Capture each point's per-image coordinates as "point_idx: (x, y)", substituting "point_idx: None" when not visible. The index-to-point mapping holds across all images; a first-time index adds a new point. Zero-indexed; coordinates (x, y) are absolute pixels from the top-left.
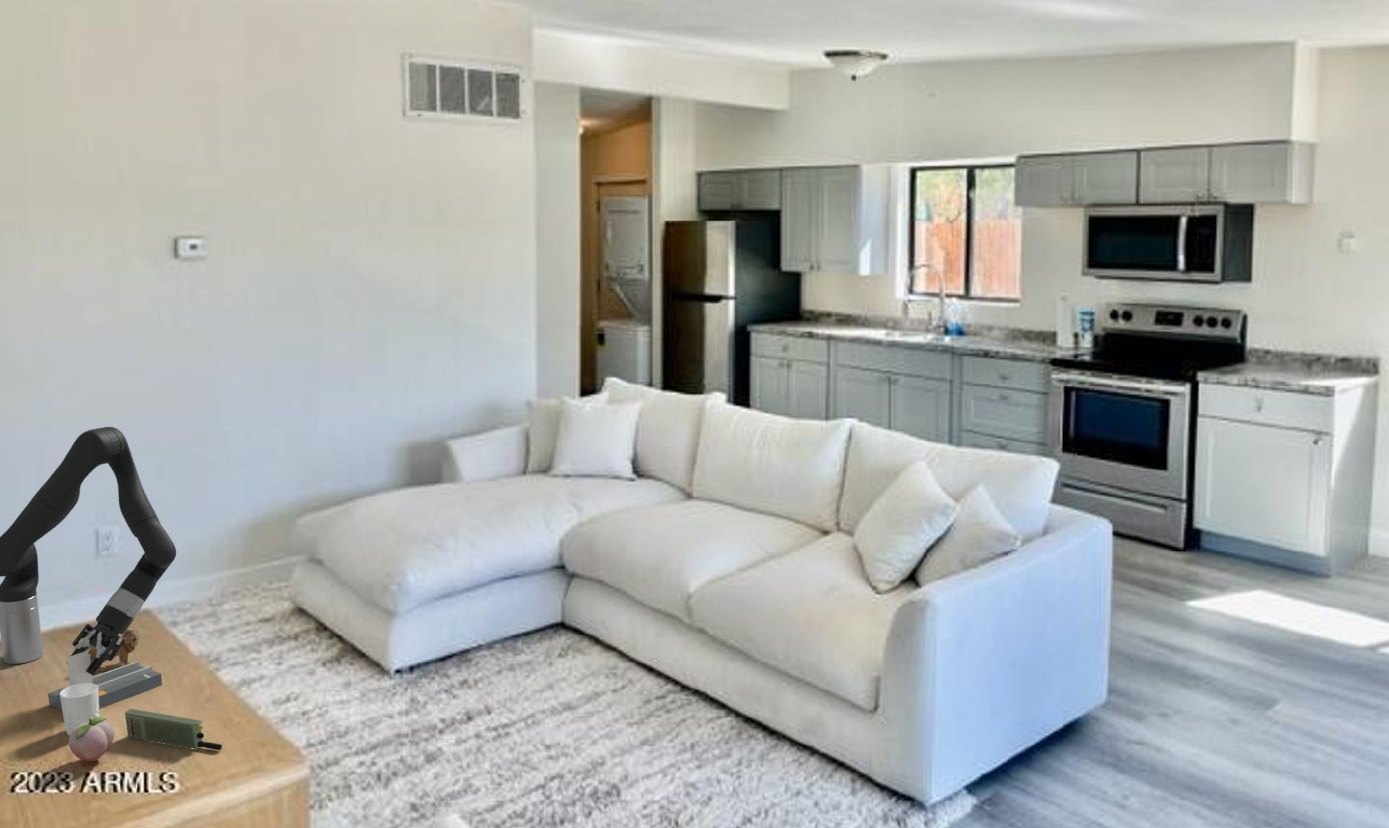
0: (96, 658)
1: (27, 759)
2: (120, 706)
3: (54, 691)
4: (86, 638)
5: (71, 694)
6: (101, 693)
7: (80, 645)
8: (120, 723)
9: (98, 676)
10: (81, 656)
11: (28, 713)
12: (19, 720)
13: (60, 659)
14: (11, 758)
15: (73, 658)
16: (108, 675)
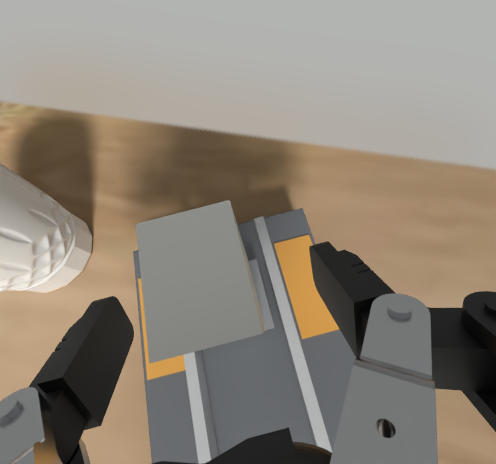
0: (40, 385)
1: (26, 129)
2: (123, 401)
3: (307, 227)
4: (372, 449)
5: (3, 195)
6: None
7: (370, 341)
8: (3, 351)
9: (304, 402)
10: (166, 289)
11: (276, 172)
12: (245, 149)
13: None
14: (59, 109)
15: (173, 230)
16: None
